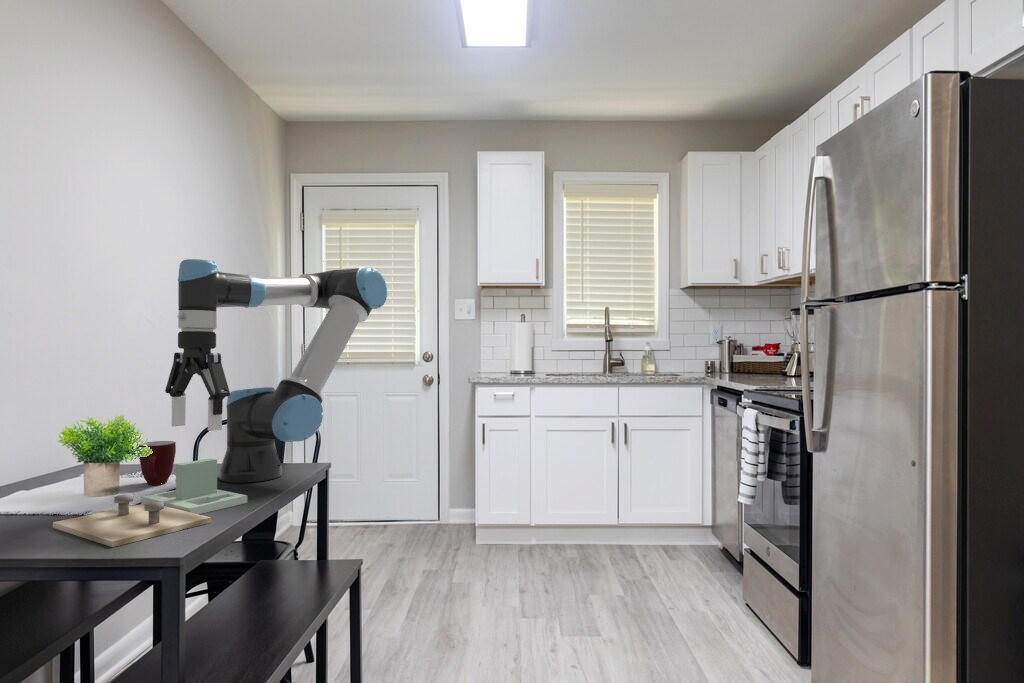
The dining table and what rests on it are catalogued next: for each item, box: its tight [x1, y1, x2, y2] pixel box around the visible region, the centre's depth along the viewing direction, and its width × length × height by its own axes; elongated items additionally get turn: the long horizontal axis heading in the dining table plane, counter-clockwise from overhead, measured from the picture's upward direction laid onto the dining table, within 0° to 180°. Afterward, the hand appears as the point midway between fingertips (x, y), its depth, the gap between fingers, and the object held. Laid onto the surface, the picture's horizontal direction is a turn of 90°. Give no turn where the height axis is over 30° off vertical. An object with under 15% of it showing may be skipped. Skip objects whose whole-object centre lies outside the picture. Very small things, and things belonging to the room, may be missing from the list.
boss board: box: [52, 494, 212, 548], centre depth 122 cm, size 18×22×5 cm
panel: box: [140, 458, 248, 515], centre depth 139 cm, size 13×18×9 cm
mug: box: [138, 440, 177, 485], centre depth 157 cm, size 10×8×10 cm
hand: (196, 428), depth 139 cm, fingers open, 13 cm apart
